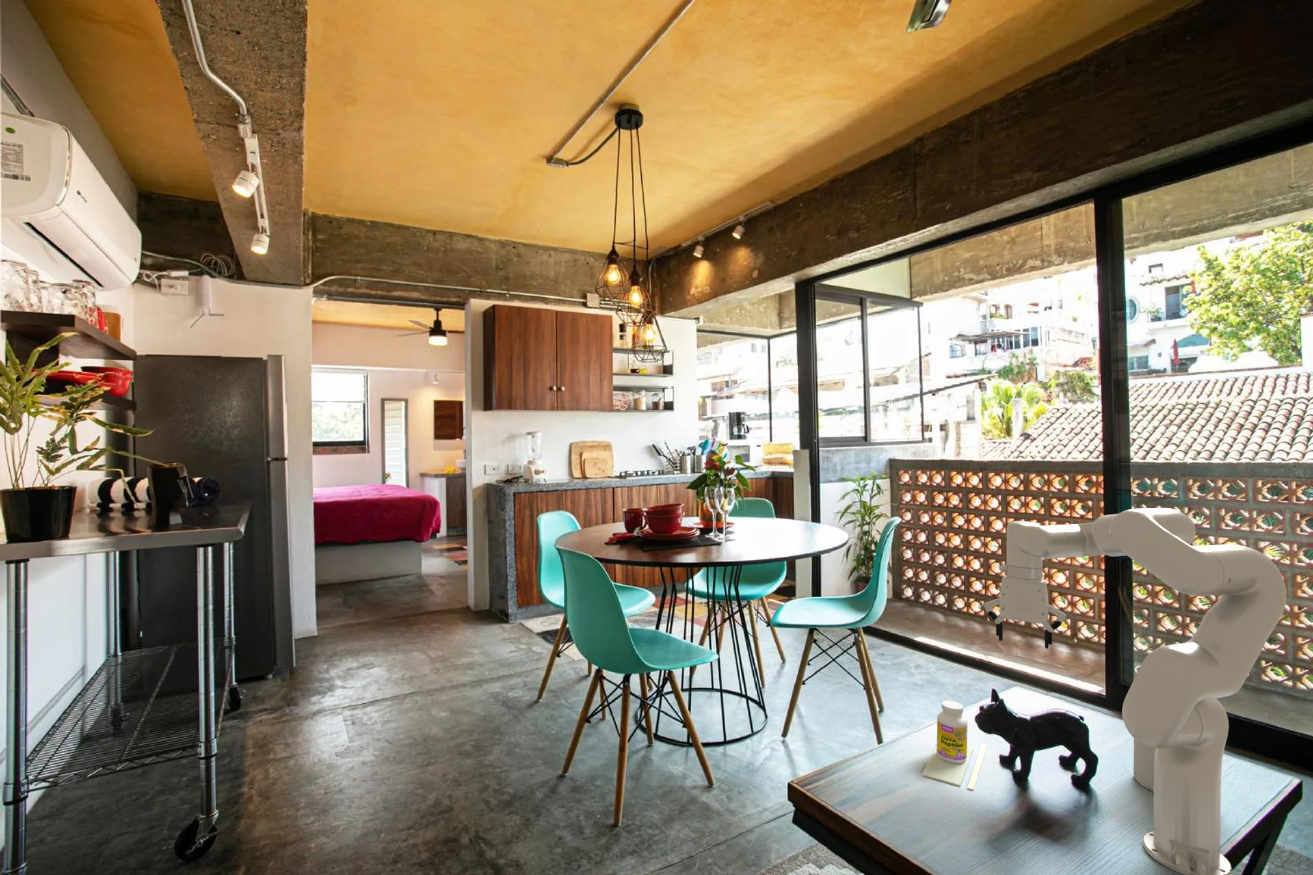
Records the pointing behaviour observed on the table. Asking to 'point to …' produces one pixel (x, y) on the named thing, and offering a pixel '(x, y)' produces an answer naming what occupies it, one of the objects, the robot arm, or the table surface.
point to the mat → (946, 768)
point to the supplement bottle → (952, 733)
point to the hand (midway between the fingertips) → (1023, 642)
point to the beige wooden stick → (977, 767)
